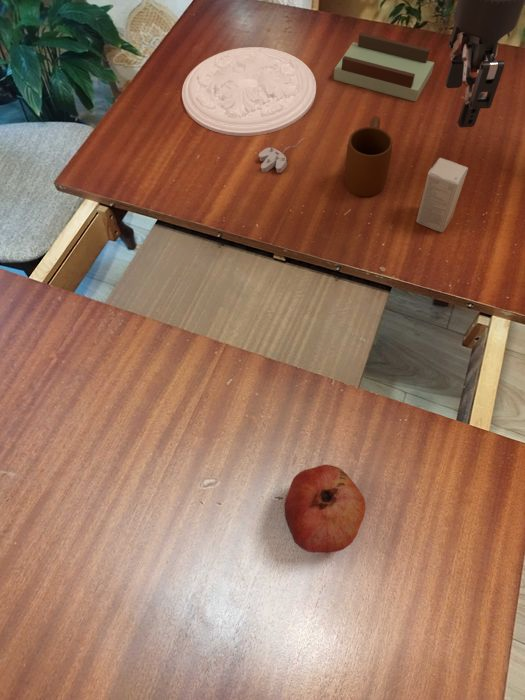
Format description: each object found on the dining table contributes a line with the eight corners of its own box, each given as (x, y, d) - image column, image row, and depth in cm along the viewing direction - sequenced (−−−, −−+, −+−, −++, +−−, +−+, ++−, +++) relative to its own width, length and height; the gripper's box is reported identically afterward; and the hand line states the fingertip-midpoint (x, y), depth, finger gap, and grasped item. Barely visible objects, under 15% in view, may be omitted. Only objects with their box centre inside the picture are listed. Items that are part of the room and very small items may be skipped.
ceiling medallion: (327, 58, 118) (328, 43, 115) (299, 144, 105) (300, 130, 102) (205, 44, 122) (203, 30, 120) (164, 126, 109) (160, 112, 107)
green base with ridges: (431, 73, 114) (437, 50, 109) (415, 101, 109) (420, 78, 105) (351, 53, 118) (354, 30, 114) (333, 79, 114) (335, 56, 110)
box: (452, 217, 94) (471, 167, 84) (441, 234, 92) (459, 184, 83) (424, 206, 96) (439, 155, 86) (413, 221, 94) (427, 172, 84)
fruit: (311, 462, 74) (313, 436, 65) (375, 504, 71) (387, 482, 62) (266, 528, 70) (262, 510, 61) (332, 576, 67) (338, 564, 58)
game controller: (252, 169, 102) (251, 158, 100) (279, 132, 107) (279, 121, 105) (279, 178, 101) (279, 167, 98) (305, 140, 105) (306, 128, 103)
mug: (350, 150, 103) (355, 106, 95) (390, 155, 102) (399, 112, 94) (339, 195, 98) (344, 153, 90) (382, 201, 97) (390, 159, 88)
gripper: (548, 13, 58) (498, 138, 73) (514, -53, 65) (474, 72, 80) (477, 18, 59) (441, 141, 73) (451, -49, 66) (423, 75, 80)
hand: (458, 105), depth 76 cm, fingers open, 8 cm apart
